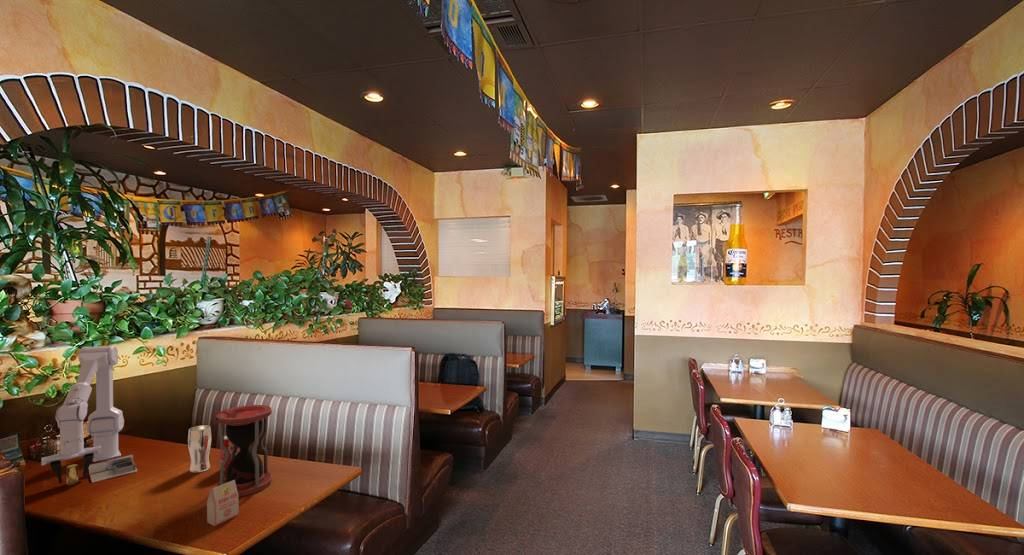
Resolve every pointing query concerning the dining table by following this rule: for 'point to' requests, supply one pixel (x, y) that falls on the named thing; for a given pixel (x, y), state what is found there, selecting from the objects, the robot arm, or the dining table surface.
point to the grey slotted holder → (117, 461)
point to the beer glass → (199, 448)
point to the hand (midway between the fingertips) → (72, 479)
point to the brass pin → (72, 474)
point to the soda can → (229, 445)
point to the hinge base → (99, 472)
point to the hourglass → (245, 447)
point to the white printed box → (222, 503)
